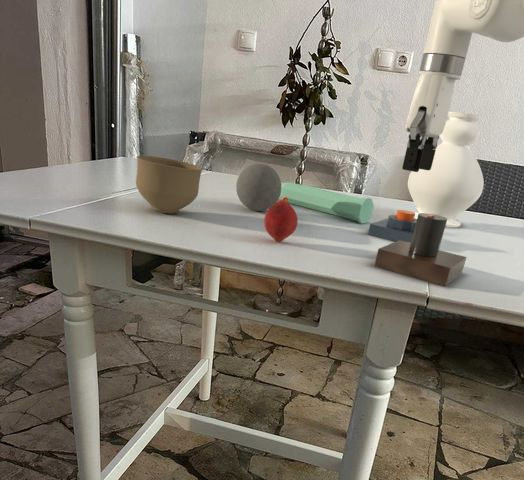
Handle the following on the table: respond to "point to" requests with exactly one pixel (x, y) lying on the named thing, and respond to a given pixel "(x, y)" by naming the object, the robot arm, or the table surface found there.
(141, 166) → the bowl
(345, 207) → the green hexagonal prism
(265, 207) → the decorative ball
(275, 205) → the onion
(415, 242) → the knob
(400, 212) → the button
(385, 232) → the button box
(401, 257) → the brown rectangular block
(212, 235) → the table surface
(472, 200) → the decorative vase
